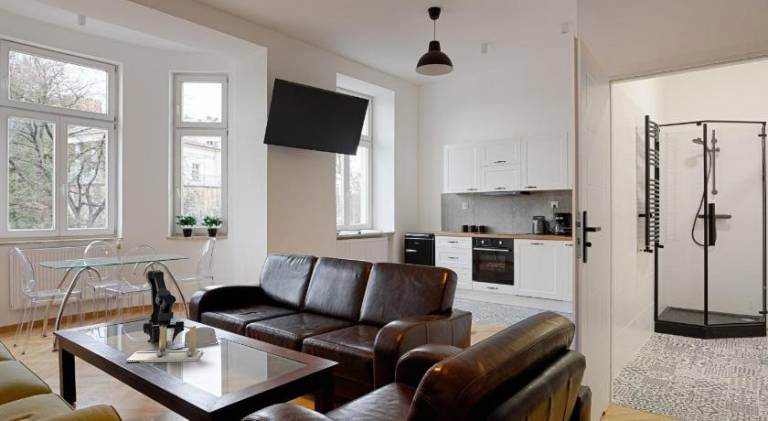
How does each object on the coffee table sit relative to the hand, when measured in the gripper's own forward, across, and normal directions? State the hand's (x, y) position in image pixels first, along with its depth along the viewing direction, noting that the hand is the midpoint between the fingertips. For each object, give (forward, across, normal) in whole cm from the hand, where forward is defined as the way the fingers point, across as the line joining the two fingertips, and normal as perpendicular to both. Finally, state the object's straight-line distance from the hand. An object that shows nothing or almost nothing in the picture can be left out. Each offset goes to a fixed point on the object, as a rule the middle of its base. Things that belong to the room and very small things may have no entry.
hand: (162, 342), depth 229 cm
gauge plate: (+5, +2, +6) cm, 8 cm away
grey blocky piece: (-9, +17, +20) cm, 28 cm away
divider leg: (+4, 0, +4) cm, 6 cm away
